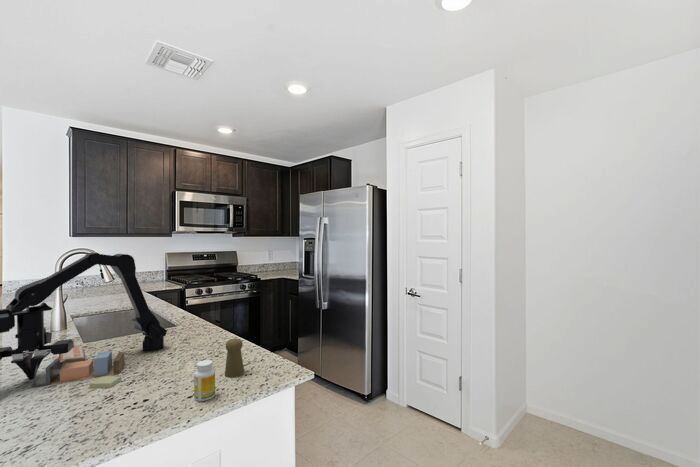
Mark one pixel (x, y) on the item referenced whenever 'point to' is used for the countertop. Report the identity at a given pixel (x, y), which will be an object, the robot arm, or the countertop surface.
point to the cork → (234, 358)
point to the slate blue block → (102, 363)
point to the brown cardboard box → (76, 370)
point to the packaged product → (72, 356)
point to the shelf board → (115, 369)
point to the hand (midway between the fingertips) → (32, 379)
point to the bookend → (49, 374)
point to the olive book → (105, 382)
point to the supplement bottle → (204, 381)
